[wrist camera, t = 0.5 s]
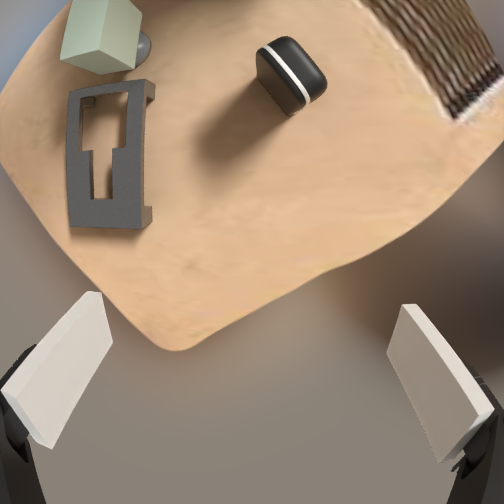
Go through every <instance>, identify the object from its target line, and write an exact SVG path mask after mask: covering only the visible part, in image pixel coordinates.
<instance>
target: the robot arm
mask: <svg viewBox="0 0 504 504" xmlns="http://www.w3.org/2000/svg"><path fill="white" fill-rule="evenodd" d="M112 343H113V341H112V337H111V333H110V329H109V325H108V321H107V317H106V313H105V308H104V304H103V299H102V294H101V293H100V292H91V291H87V292H86V293H85V294H84V295H83V296H82V297H81V298H80V299H79V300H78V301H77V302H76V303H75V304H74V305H73V306H72V307H71V308H70V309H69V311H68V312H67V313H66V314H65V315H64V316H63V317H62V318H61V319H60V320H59V321H58V323H57V324H56V325H55V326H54V327H53V328H52V329H51V330H50V331H49V333H48V334H47V335H46V336H45V337H44V338H43V339H42V340H41V341H40V343H39V344H38V345H37V344H34V345H33V346H31V347H30V348H28V349H27V350H25V351H24V352H23V354H22V355H21V356H20V357H19V358H18V360H17V361H16V362H15V363H14V364H13V367H11V368H10V369H9V370H8V371H7V372H6V374H5V375H4V376H3V377H2V379H1V380H0V504H46V501H45V498H44V496H43V492H42V489H41V486H40V483H39V479H38V476H37V472H36V468H35V465H34V461H33V457H32V453H31V448H30V444H29V441H28V440H27V436H28V434H29V433H30V434H31V436H32V437H33V438H34V439H35V441H36V442H37V443H39V444H41V445H44V446H46V447H48V448H50V449H53V447H54V445H55V443H56V441H57V439H58V437H59V435H60V433H61V431H62V429H63V428H64V426H65V424H66V422H67V420H68V418H69V417H70V414H71V413H72V411H73V409H74V407H75V406H76V404H77V402H78V400H79V399H80V397H81V395H82V393H83V392H84V390H85V388H86V386H87V385H88V383H89V381H90V380H91V378H92V376H93V375H94V373H95V371H96V370H97V368H98V366H99V365H100V363H101V361H102V359H103V358H104V356H105V355H106V353H107V351H108V350H109V348H110V346H111V345H112ZM386 354H387V356H388V357H389V360H390V361H391V363H392V365H393V367H394V369H395V371H396V373H397V375H398V377H399V379H400V381H401V383H402V385H403V387H404V389H405V391H406V393H407V395H408V397H409V399H410V402H411V404H412V406H413V408H414V410H415V412H416V414H417V416H418V418H419V420H420V423H421V425H422V427H423V429H424V432H425V434H426V436H427V438H428V440H429V443H430V445H431V448H432V450H433V452H434V455H435V457H436V459H437V462H438V464H440V463H443V462H445V461H448V460H451V459H454V458H455V457H456V456H457V455H458V454H459V452H461V450H462V449H463V450H464V452H465V455H464V457H462V459H461V460H460V461H459V462H458V463H457V464H456V465H455V466H454V467H453V468H452V470H451V471H452V472H454V471H455V470H456V469H457V467H459V470H458V471H457V476H456V479H455V482H454V485H453V488H452V490H451V493H450V496H449V498H448V501H447V504H504V409H502V407H501V405H500V404H499V402H498V401H497V399H496V398H495V396H494V395H493V394H492V392H491V391H490V389H489V388H488V386H487V385H486V384H485V383H484V381H483V379H482V378H481V377H479V376H480V375H479V374H478V373H477V371H476V370H475V369H474V367H472V366H471V365H470V364H469V363H467V362H466V361H465V360H460V359H459V357H458V356H457V355H456V353H455V352H454V351H453V349H452V348H451V347H450V345H449V344H448V343H447V342H446V340H445V339H444V338H443V337H442V335H441V334H440V333H439V331H438V330H437V329H436V328H435V327H434V325H433V324H432V323H431V322H430V320H429V319H428V318H427V317H426V315H425V314H424V313H423V312H422V311H421V309H420V308H419V307H418V306H417V305H416V304H403V305H402V307H401V310H400V313H399V317H398V320H397V323H396V326H395V329H394V332H393V335H392V338H391V341H390V344H389V347H388V350H387V352H386Z"/></svg>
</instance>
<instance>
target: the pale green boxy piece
mask: <svg viewBox="0 0 504 504" xmlns="http://www.w3.org/2000/svg"><path fill="white" fill-rule="evenodd" d="M142 15H143V14H142V13H141V12H140V11H139V9H138V8H137V7H136V6H135V5H134V4H133V3H132V2H131V1H130V0H73V1H72V5H71V9H70V12H69V16H68V20H67V24H66V29H65V33H64V38H63V43H62V48H61V54H60V59H59V60H60V61H63V62H66V63H69V64H72V65H74V66H77V67H80V68H83V69H86V70H88V71H91V72H94V73H97V74H99V75H102V74H107V73H113V72H119V71H125V70H132V69H135V67H137V66H139V65H140V64H142V63H143V62H144V61H145V60H146V58H147V57H148V55H149V53H150V50H151V42H150V39H149V38H148V37H147V36H146V35H145V34H144V33H142V32H140V26H141V20H142Z"/></svg>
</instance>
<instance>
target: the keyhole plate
mask: <svg viewBox="0 0 504 504" xmlns="http://www.w3.org/2000/svg"><path fill="white" fill-rule="evenodd" d="M155 86H156V85H155V84H153V83H152V82H150V81H148V80H146V79H139V80H131V81H124V82H117V83H110V84H104V85H99V86H93V87H88V88H83V89H79V90H74V91H70V92H69V99H68V112H67V132H66V175H67V196H68V210H69V221H70V227H98V228H126V229H143V228H144V227H146V226H147V225H148V224H149V223H151V222H152V206H144V135H145V114H146V100H152V99H154V98H155ZM123 92H128V105H127V122H126V148H112V182H113V198H94V179H93V150H88V151H82V130H83V111H84V108H87V107H93V106H94V105H95V97H96V96H102V95H109V94H115V93H123Z"/></svg>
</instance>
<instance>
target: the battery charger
mask: <svg viewBox="0 0 504 504" xmlns="http://www.w3.org/2000/svg"><path fill="white" fill-rule="evenodd" d="M256 68H257V79H258V80H259V81H260V82H261V84H262V85H263V86H264V87H265V89H266V90H267V91H268V92H269V94H270V95H271V96H272V97H273V99H274V100H275V101H276V102H277V104H278V105H279V106H280V107H281V109H282V110H283V111H284V113H285V114H286V115H287V116H288V117H290V116H292V115H295V114H296V113H297V112H298V111H300V110H302V109H303V108H305V107H306V106H307V105H308V104H310V103H311V102H313V101H314V100H316V99H317V98H318V97H320V96H321V95H322V94H323V93H324V92H325V90H326V89H327V80H326V77H325V76H324V74H323V73H322V71H321V70H320V69H319V68H318V66H317V65H316V64H315V63H314V61H313V60H312V59H311V58H310V56H309V55H308V54H307V53H306V52H305V51H304V49H303V48H302V47H301V46H300V45H299V44H298V43H297V41H295V40H294V39H293V38H291V37H288V36H284V37H280V38H277V39H276V40H274V41H272V42H270V43H269V44H267V45H263V46H262V47H261V48H260V49H259V50H257V52H256Z"/></svg>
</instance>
